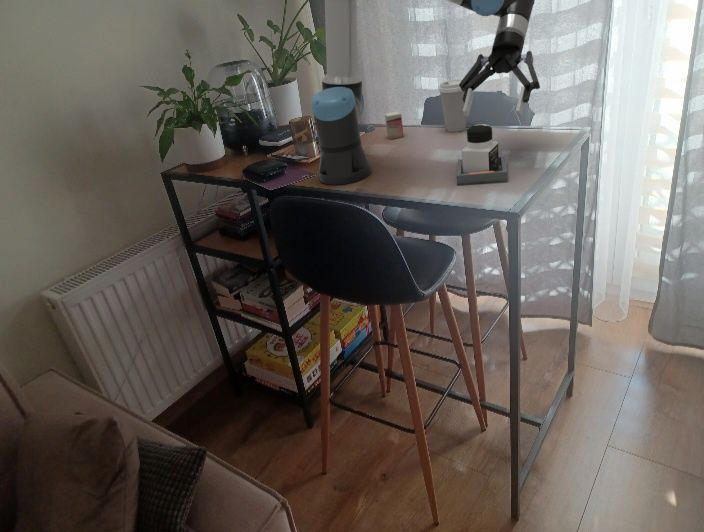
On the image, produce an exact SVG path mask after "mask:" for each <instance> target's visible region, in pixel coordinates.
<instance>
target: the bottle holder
mask: <svg viewBox="0 0 704 532" xmlns="http://www.w3.org/2000/svg"><path fill="white" fill-rule="evenodd" d="M456 167H457V168H456V186H465V185H481V184H493V183H495V184H496V183H505V182H506V183H507V182H508V169H507V161H506V155H499V168H498V169H497V170H496V171H484V172H471V173H468V174H463V165H462V158H460V159H457V166H456Z"/></svg>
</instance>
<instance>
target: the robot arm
mask: <svg viewBox="0 0 704 532" xmlns="http://www.w3.org/2000/svg"><path fill="white" fill-rule="evenodd" d="M357 1H358V0H324V20H325V21H324V22H325V24H324V25H325V48H326V51H325V52H326V74H325V75H324V77H323V78H322V79H321V91H319V92H317V93H316V94H314V95H313V97H312V99H311V112H312V115H313V119H314V124H315V130H316V135H317V139H318V143H319V144H318V145H319V150H320V157H319V166H318V167H319V168H318V175H319V181H320V182H321V183H322V184H326V185H333V186H334V185H335V186H336V185H337V186H339V185H345V184H351V183H355V182H358V181H361V180H364V179H365V178H367V177H368V176H370V175H371V174H372V165H371V162H370V159H369V158H368V155H367V153H366V151H365V150H364V147H363V145H362V140H361V139H362V138H361V133H360V126H359V118H361V115H362V113H363V110H364V106H365V100H364V99H365V98H364V96H363V78H362V77H361V76H360V75H359V74H358V58H357V57H358V54H357V53H358V52H357V51H358V50H357V49H358V47H357V45H358V43H357V42H358V41H357V40H358V39H357V38H358V37H357V36H358V35H357V34H358V33H357V29H358V28H357V26H358V25H357V24H358V23H357V22H358V21H357V20H358V19H357V12H358V11H357V9H358V8H357ZM446 1H448V2H450V3H453V4H455V5H457V6H460V7H462V8H464V9H466V10H469V11H471V12H473V13H475V14H477V15H479V16H481V17H488V16H489V17H490V16H494V17H499V19H498V24H497V28H496V31H495V37H494V41H493V43H492V48H491V53H490V55H488V56H484V55H483V54H478V55H477V59H476V60H475V63H474V64H473V65H472V67H470V68H469V70H468V72H467V73H466V75H465V76H464V77H463V79H462V81H461V82H460V84H459V86H460V88H461V90H462V91H465V92H464V96H463V102H464V103H465V104H464V108H463V113H464V114H465V116H466V118H467V117H470V112H471V108H472V104H473V100H474V96H475V92H474V91H475V90H476V89H478V87H479V86H481V85H482V84H483V83H484V82H485V81H486V80H487V79H489V77H493V76H494V75H495V74H498V75H499V74H503V73H505V74H509V73H510V72H512V73H513V74H514V75H515V76H516V77H517V79H518V80H519V82H520V83H521V85H522V86H521V88H520V92H519V96H518V100H517V104H516V109H515V114H517V116H518V117H522V115H523V110H524V106H525V103H528V102H529V101H530V98H531V93H532V91H533V90H539V89H540V88H541V85H540V82H539V78H538V76H537V73H536V70H535V67H534V56H533V52H532V51H531V50H528V51H527V52H526V53H523V48H524V45H525V40H526V37H527V31H528V29H529V23H530V19H531V15H532V11H533V8H534V5H535V0H446ZM521 62H524V63H525V64H526V66H527V67H528V71H529V74H530V77H531V82H530V81H529V79H528V78H527V77H526V75H525V74H524V73H523V72H522V70H521V68H520V67H519V66H518V65H519V64H520V63H521Z"/></svg>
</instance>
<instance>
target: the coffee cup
mask: <svg viewBox="0 0 704 532" xmlns="http://www.w3.org/2000/svg"><path fill="white" fill-rule="evenodd" d="M462 80H463V79H461V78H460V79H450V80H445V81H442V82H441V83H440V84H439V87H438V93H439V94H440V95H439V96H440V100H441V105H442V106H441V107H442V112H443V113H442V114H443V119H444V126H445V131H446V132H449V133H457V132H461V131H464V130H467V117H466V116H465V114H464V113H463V108H464V104H465V103H464V102H463V96H464V92H465V91H462V90H461V88H460V86H459V84H460V82H461V81H462Z"/></svg>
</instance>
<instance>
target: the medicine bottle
mask: <svg viewBox="0 0 704 532" xmlns="http://www.w3.org/2000/svg"><path fill="white" fill-rule="evenodd" d="M466 137H467V138H466V139H467V142H466V144H467V145H466V146H465V147H464V148H463V149H462V150H461V159H462V165H463V174H468V173H471V172H484V171H496V170H497V169H498V168H499V156H500V154H499V142H498V141H493V127H492V126H491V125H489V124H483V123H481V124H474V125H472V126H470V127H468V128H466Z"/></svg>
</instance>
